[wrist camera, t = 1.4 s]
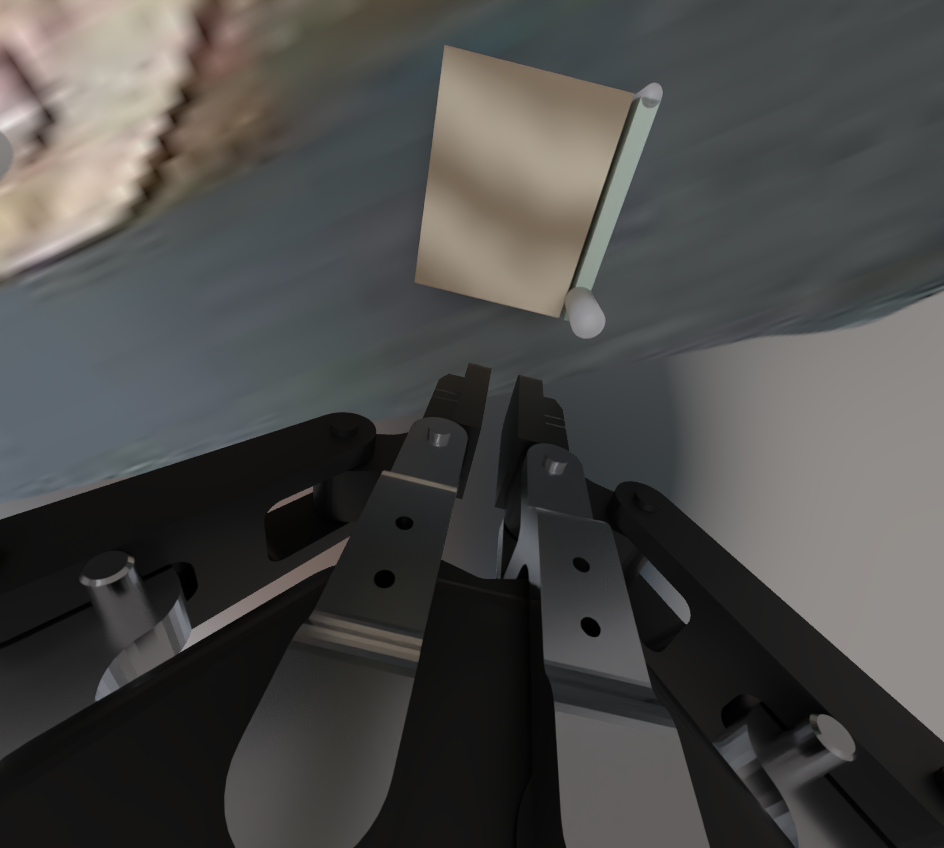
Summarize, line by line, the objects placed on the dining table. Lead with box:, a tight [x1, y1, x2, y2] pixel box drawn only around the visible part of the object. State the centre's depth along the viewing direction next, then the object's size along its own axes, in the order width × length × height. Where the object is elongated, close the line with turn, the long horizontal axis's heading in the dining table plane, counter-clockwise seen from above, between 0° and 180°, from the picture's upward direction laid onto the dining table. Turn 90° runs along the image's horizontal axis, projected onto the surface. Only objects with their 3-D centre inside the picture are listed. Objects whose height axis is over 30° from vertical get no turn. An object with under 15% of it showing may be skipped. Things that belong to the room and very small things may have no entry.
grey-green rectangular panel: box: [562, 83, 663, 339], centre depth 26 cm, size 12×2×16 cm, turn 168°
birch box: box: [414, 45, 634, 318], centre depth 28 cm, size 12×10×11 cm
